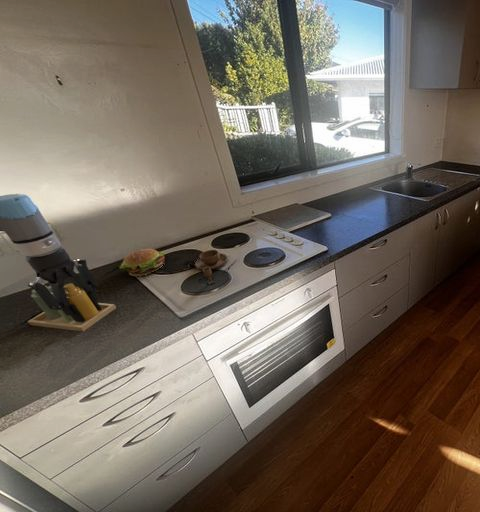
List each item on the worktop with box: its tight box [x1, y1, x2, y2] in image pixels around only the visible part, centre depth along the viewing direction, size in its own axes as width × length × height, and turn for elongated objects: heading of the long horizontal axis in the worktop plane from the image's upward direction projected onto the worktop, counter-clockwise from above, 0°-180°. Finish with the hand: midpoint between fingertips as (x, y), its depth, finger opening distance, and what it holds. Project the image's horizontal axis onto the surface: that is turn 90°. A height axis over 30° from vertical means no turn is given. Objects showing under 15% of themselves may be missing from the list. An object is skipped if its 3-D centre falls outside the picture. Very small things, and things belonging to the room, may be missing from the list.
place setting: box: [187, 249, 237, 281], centre depth 114 cm, size 18×20×6 cm
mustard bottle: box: [63, 282, 99, 321], centre depth 88 cm, size 5×5×12 cm
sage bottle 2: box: [47, 285, 74, 321], centre depth 89 cm, size 5×5×12 cm
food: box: [118, 248, 166, 277], centre depth 114 cm, size 14×14×8 cm
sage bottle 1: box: [30, 285, 62, 319], centre depth 90 cm, size 5×5×12 cm
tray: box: [27, 302, 117, 332], centre depth 92 cm, size 19×11×2 cm, turn 82°
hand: (89, 315), depth 91 cm, fingers closed on mustard bottle, 5 cm apart
